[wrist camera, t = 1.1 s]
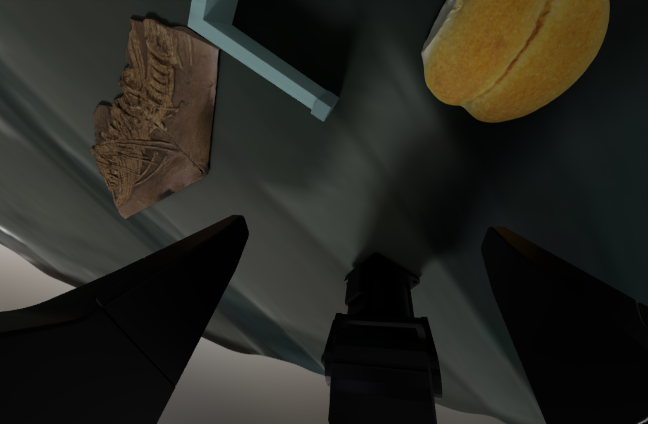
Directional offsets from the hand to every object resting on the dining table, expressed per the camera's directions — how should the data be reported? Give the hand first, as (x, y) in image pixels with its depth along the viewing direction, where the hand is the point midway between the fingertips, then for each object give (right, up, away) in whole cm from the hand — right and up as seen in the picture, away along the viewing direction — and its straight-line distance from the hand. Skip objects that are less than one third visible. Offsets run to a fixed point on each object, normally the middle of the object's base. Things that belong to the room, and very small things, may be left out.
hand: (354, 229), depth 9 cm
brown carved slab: (-18, +7, +16) cm, 25 cm away
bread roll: (+10, +12, +6) cm, 17 cm away
